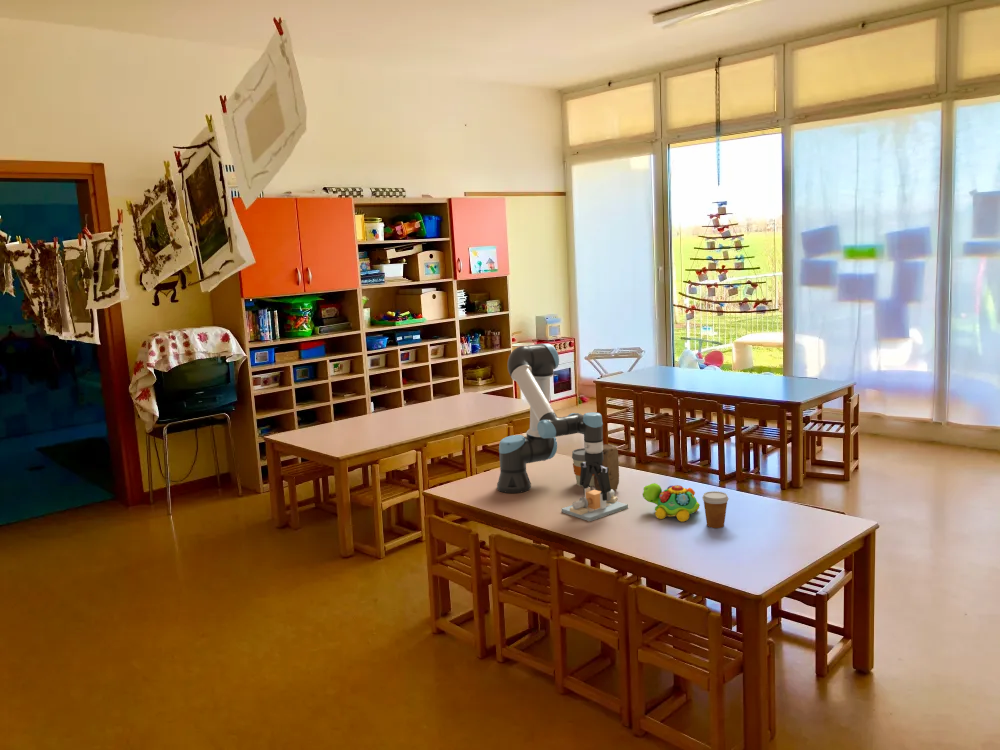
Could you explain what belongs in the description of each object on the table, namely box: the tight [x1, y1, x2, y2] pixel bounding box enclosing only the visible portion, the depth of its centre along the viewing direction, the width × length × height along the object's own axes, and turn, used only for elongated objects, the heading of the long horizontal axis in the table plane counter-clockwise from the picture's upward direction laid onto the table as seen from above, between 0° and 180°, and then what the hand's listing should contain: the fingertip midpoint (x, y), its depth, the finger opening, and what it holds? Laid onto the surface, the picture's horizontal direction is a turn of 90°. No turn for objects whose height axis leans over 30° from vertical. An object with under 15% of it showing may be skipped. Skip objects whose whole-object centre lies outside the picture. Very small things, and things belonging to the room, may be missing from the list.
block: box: [593, 443, 620, 492], centre depth 347 cm, size 11×8×20 cm
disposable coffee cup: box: [702, 490, 730, 529], centre depth 300 cm, size 10×10×12 cm
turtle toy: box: [642, 482, 701, 523], centre depth 315 cm, size 17×23×12 cm
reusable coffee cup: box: [571, 447, 595, 487], centre depth 359 cm, size 13×13×15 cm
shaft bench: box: [561, 489, 629, 522], centre depth 324 cm, size 16×23×7 cm
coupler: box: [586, 489, 601, 509], centre depth 323 cm, size 5×10×6 cm, turn 129°
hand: (595, 505), depth 324 cm, fingers open, 8 cm apart
